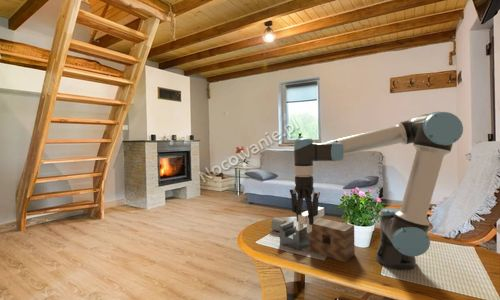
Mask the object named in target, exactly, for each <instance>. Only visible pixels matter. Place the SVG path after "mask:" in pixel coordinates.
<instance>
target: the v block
mask: <svg viewBox="0 0 500 300" xmlns="http://www.w3.org/2000/svg"><path fill="white" fill-rule="evenodd" d="M294 222H295V221H293V220H289V221H287V222H286V223H284V224H282V225H279V227H280V232H279V244H280V245H281V246H285V247H286V248H287V247H288V248H290V249H293V250H297V251H301V250H303V249H305V248H306V247H308V246H310V243H309V233H307V224H306V225H305V224H303V229H302V230H300V231H299V230H298V228H297V225H295V223H294Z"/></svg>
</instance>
